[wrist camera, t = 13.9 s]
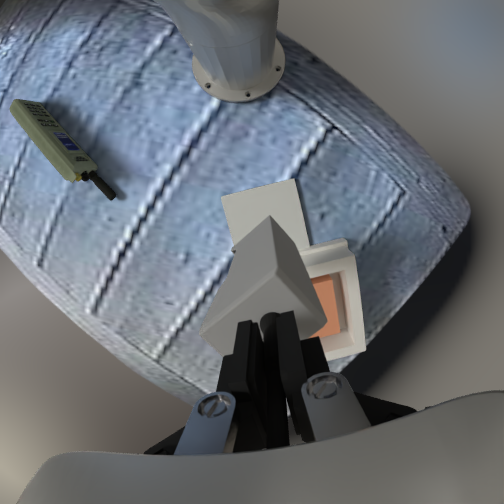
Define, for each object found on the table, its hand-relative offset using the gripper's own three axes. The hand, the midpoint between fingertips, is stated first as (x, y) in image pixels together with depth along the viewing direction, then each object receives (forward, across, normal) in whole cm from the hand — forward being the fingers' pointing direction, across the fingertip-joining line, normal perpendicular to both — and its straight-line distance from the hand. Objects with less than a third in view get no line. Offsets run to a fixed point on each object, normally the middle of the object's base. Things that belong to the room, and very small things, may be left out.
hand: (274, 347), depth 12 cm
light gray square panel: (+30, 0, 0) cm, 30 cm away
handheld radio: (+31, +26, -20) cm, 45 cm away
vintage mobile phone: (+19, 0, 0) cm, 19 cm away
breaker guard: (+30, -3, +12) cm, 32 cm away
